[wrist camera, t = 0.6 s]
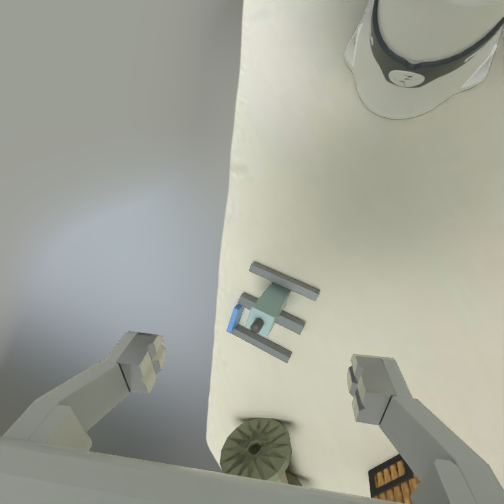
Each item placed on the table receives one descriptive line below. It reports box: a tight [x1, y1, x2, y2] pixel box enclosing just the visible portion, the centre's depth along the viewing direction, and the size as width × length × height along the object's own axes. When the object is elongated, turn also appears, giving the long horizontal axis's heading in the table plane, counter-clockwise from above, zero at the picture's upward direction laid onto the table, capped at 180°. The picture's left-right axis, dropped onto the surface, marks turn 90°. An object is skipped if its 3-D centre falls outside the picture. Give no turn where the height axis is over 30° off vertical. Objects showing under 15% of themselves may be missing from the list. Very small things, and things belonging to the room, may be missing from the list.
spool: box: [220, 418, 302, 486], centre depth 53 cm, size 16×15×15 cm
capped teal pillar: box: [245, 282, 291, 338], centre depth 44 cm, size 4×4×14 cm
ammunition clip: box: [368, 454, 420, 504], centre depth 45 cm, size 11×2×12 cm, turn 146°
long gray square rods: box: [227, 262, 320, 363], centre depth 50 cm, size 17×14×4 cm
